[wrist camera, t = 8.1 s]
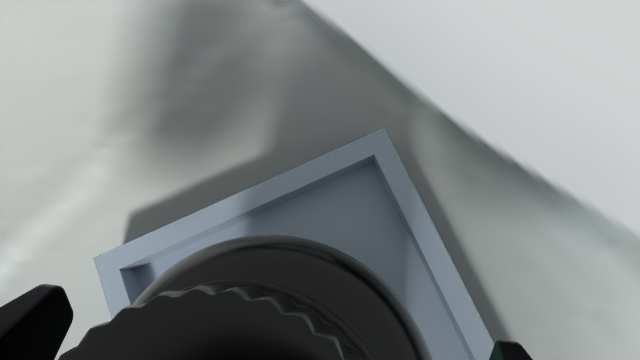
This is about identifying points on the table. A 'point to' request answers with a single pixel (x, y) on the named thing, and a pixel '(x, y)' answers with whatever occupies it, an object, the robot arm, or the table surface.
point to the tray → (327, 238)
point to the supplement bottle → (260, 309)
